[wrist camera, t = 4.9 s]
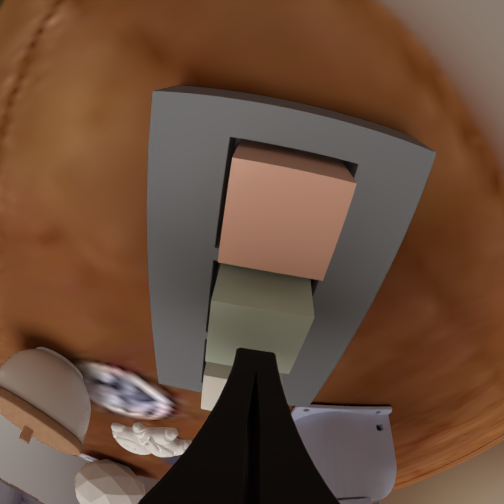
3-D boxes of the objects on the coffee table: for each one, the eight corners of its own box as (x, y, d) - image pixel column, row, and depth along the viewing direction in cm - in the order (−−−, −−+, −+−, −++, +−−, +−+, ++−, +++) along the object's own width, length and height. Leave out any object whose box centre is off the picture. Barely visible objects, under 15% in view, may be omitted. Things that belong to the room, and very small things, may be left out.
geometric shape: (133, 442, 49) (162, 503, 37) (128, 476, 52) (153, 528, 41) (64, 445, 40) (84, 513, 29) (70, 479, 43) (89, 536, 32)
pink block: (340, 159, 11) (356, 183, 9) (315, 242, 13) (322, 280, 11) (241, 138, 11) (232, 157, 9) (227, 226, 13) (217, 262, 11)
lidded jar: (89, 349, 22) (47, 443, 14) (114, 406, 28) (89, 478, 20) (3, 317, 22) (-42, 388, 14) (38, 377, 28) (9, 438, 20)
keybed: (406, 133, 12) (436, 152, 9) (306, 371, 21) (308, 406, 19) (178, 85, 11) (153, 90, 9) (169, 348, 21) (158, 383, 18)
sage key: (309, 274, 13) (314, 317, 11) (288, 332, 15) (288, 374, 13) (222, 258, 13) (211, 300, 11) (214, 320, 15) (204, 361, 13)
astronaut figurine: (208, 448, 33) (205, 468, 31) (137, 444, 36) (132, 461, 34) (171, 419, 29) (165, 443, 26) (98, 415, 32) (91, 434, 29)
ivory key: (283, 346, 16) (282, 387, 14) (268, 382, 18) (266, 418, 16) (212, 335, 16) (203, 374, 14) (207, 373, 18) (200, 408, 16)
